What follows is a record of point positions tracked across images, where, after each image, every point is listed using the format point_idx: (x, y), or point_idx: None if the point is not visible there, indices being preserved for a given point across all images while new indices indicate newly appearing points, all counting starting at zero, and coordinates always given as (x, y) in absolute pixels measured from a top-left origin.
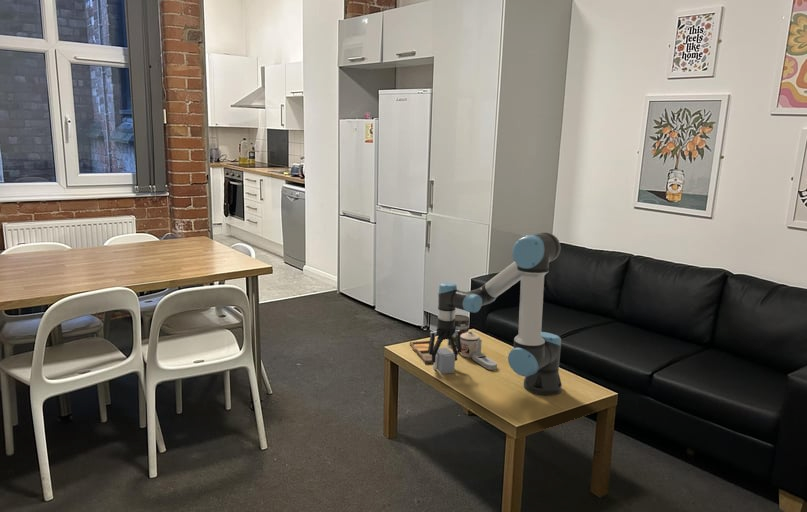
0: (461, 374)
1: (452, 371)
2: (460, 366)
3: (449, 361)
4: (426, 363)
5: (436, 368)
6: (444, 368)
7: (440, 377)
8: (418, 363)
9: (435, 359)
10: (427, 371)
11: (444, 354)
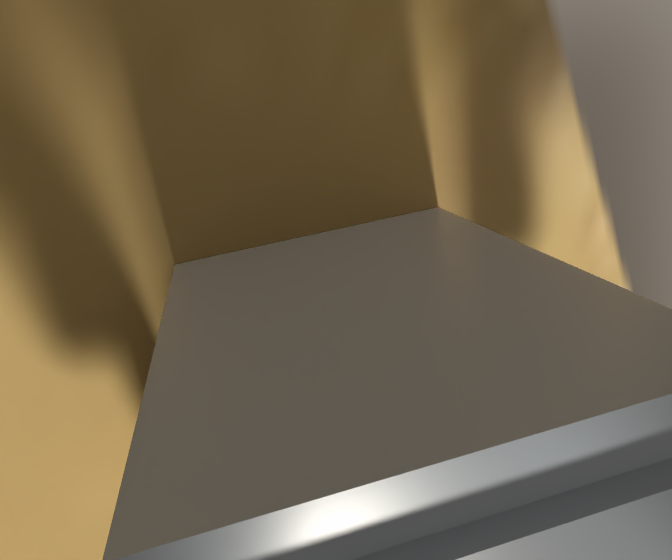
0: (9, 155)
1: (209, 262)
2: (12, 540)
3: (334, 334)
4: None
5: None
6: (410, 242)
7: (492, 12)
8: None
9: None
10: None
11: (659, 509)
